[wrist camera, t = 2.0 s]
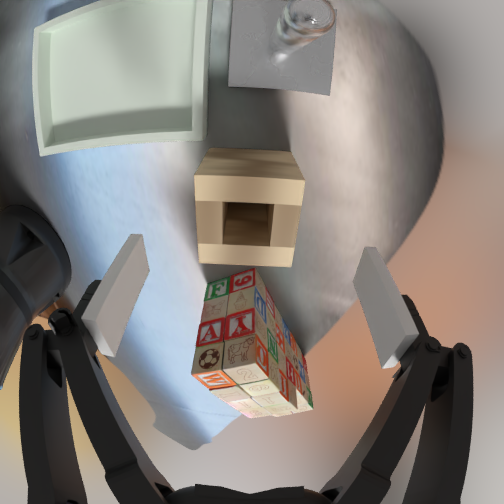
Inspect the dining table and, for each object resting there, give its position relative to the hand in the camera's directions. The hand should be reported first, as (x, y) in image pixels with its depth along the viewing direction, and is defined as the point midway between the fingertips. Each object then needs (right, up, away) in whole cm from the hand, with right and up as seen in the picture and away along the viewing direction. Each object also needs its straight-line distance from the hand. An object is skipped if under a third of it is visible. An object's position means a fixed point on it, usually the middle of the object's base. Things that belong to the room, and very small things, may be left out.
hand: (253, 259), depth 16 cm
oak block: (0, +6, +9) cm, 11 cm away
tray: (-12, +16, +1) cm, 20 cm away
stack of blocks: (+2, -10, +21) cm, 23 cm away
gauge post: (+2, +17, +1) cm, 17 cm away
